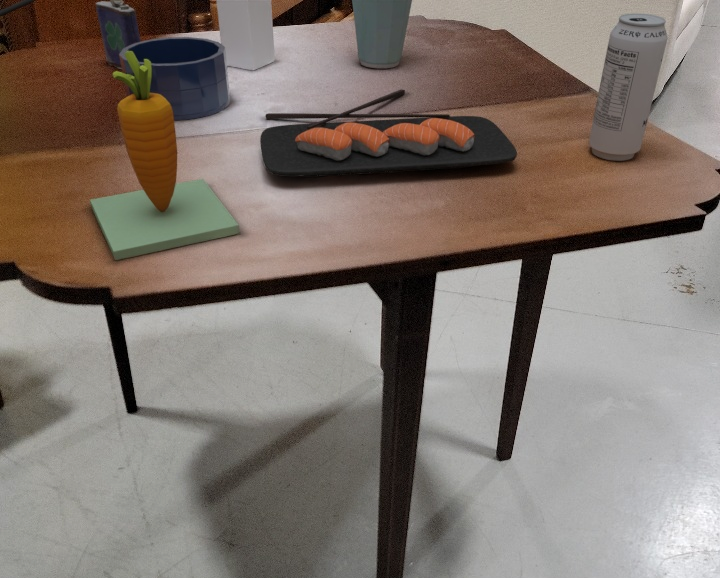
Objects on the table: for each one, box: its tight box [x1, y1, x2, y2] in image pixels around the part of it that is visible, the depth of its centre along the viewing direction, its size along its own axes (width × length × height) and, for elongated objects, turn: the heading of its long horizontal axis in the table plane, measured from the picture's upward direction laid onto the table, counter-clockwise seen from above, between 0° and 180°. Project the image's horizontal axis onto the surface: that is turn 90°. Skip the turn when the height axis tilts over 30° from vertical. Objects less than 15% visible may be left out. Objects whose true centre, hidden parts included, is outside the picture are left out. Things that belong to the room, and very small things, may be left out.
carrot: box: [112, 51, 178, 212], centre depth 68 cm, size 5×5×15 cm
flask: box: [94, 0, 142, 70], centre depth 111 cm, size 9×3×11 cm, turn 46°
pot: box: [119, 36, 231, 121], centre depth 99 cm, size 14×14×7 cm
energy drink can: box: [588, 13, 669, 162], centre depth 83 cm, size 6×6×15 cm
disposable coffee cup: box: [351, 0, 413, 69], centre depth 112 cm, size 11×11×15 cm
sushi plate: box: [259, 88, 518, 178], centre depth 91 cm, size 29×30×4 cm
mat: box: [89, 178, 240, 261], centre depth 73 cm, size 12×12×1 cm
